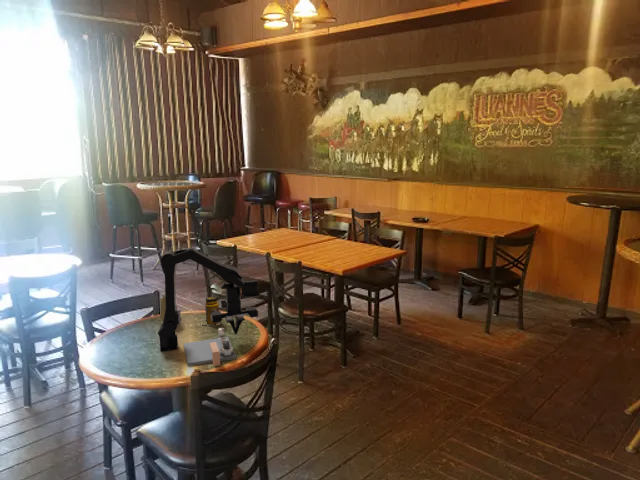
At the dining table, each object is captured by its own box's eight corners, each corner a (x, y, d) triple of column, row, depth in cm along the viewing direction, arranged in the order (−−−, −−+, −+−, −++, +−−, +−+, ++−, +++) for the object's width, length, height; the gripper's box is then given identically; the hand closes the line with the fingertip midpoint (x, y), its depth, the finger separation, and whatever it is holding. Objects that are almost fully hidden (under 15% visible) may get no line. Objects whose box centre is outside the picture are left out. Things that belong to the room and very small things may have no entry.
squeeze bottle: (172, 318, 238) (169, 281, 234) (182, 321, 233) (179, 284, 229) (157, 323, 231) (153, 285, 228) (167, 326, 226) (163, 288, 223)
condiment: (220, 324, 227) (218, 299, 225) (201, 326, 226) (199, 301, 224) (221, 319, 234) (219, 294, 232) (202, 320, 233) (200, 296, 231)
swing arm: (234, 354, 192) (233, 342, 191) (221, 356, 190) (220, 344, 189) (227, 338, 207) (226, 326, 206) (215, 340, 206) (214, 328, 205)
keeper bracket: (213, 366, 186) (212, 352, 185) (210, 356, 194) (209, 342, 193) (220, 365, 186) (219, 351, 185) (216, 355, 195) (215, 341, 194)
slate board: (187, 366, 186) (187, 362, 186) (183, 346, 205) (183, 342, 204) (236, 358, 192) (235, 355, 191) (227, 339, 210) (227, 336, 210)
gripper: (252, 289, 214) (253, 324, 217) (207, 295, 208) (210, 330, 211) (257, 297, 204) (259, 333, 207) (211, 303, 198) (213, 340, 201)
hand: (235, 334), depth 207 cm, fingers closed
